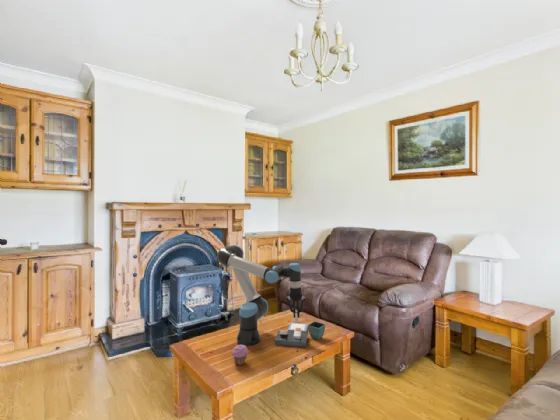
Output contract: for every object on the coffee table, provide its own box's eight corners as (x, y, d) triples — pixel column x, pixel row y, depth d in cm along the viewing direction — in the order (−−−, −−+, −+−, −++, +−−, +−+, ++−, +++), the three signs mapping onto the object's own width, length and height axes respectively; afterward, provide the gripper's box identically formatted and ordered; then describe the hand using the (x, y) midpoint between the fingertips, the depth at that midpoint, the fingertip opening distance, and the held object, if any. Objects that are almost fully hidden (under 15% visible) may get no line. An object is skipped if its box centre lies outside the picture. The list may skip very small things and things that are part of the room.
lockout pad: (287, 332, 214) (287, 329, 214) (290, 324, 226) (290, 322, 226) (306, 333, 211) (306, 331, 211) (307, 325, 224) (307, 323, 224)
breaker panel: (274, 344, 194) (274, 338, 194) (278, 335, 208) (278, 329, 208) (305, 347, 191) (305, 340, 191) (307, 337, 205) (307, 331, 205)
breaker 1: (279, 333, 197) (279, 330, 197) (281, 333, 204) (281, 329, 205) (286, 334, 196) (286, 330, 197) (288, 333, 203) (288, 330, 204)
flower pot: (319, 342, 199) (319, 328, 198) (307, 338, 204) (307, 325, 204) (325, 337, 206) (325, 324, 205) (314, 333, 211) (314, 321, 211)
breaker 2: (293, 338, 196) (293, 335, 195) (295, 330, 203) (294, 327, 203) (300, 339, 195) (300, 336, 194) (301, 330, 202) (301, 328, 202)
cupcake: (229, 364, 171) (229, 346, 171) (238, 357, 178) (238, 340, 178) (241, 368, 166) (241, 350, 166) (251, 361, 174) (251, 344, 174)
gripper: (284, 288, 199) (286, 324, 199) (304, 288, 197) (306, 324, 197) (286, 285, 206) (288, 320, 207) (305, 285, 204) (307, 320, 204)
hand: (296, 322), depth 202 cm, fingers closed
